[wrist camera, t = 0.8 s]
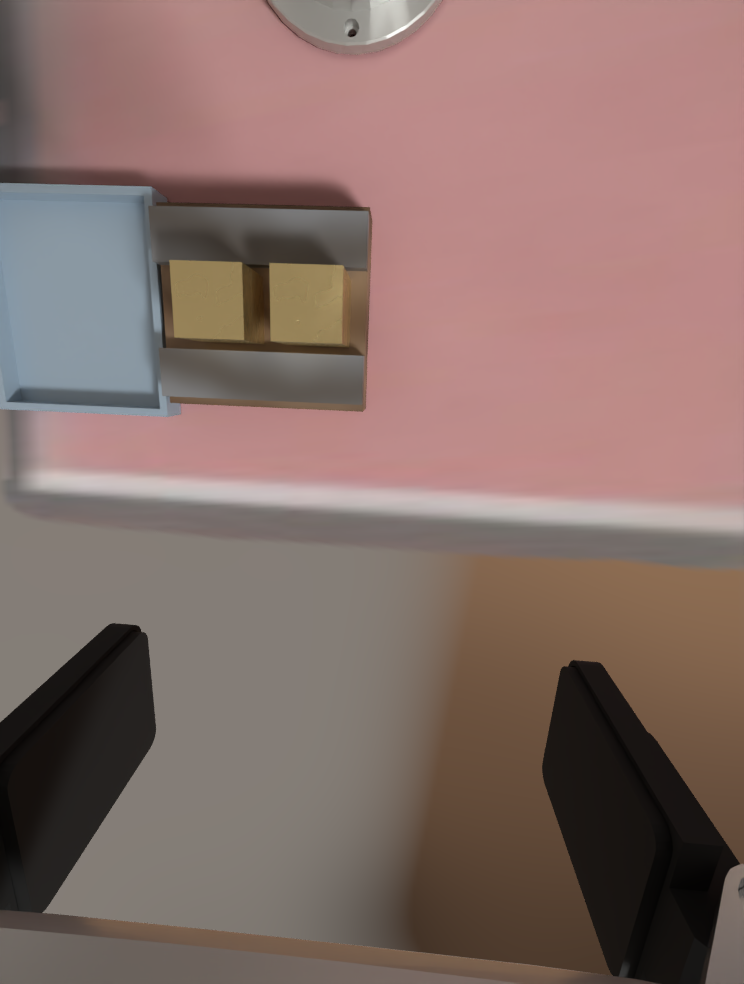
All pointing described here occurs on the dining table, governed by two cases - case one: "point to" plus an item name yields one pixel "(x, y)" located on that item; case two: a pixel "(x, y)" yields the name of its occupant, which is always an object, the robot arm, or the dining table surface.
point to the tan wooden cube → (217, 302)
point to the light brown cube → (310, 304)
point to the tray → (80, 300)
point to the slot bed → (265, 304)
